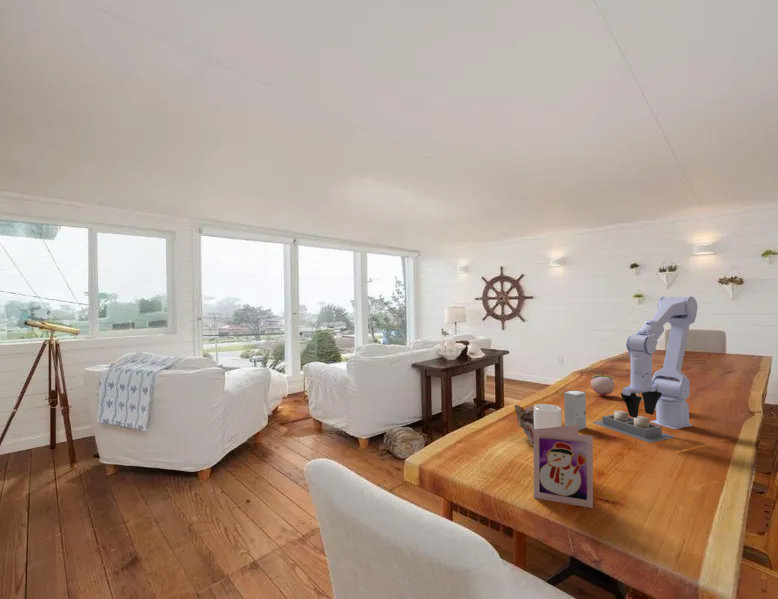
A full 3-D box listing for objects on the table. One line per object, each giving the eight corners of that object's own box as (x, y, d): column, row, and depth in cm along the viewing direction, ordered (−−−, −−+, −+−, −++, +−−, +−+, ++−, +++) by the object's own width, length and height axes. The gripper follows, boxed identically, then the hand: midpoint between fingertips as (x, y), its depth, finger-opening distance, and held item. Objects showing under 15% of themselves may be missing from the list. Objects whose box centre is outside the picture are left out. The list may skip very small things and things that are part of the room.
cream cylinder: (639, 429, 122) (639, 415, 122) (652, 433, 118) (651, 419, 118) (630, 431, 120) (630, 417, 120) (643, 435, 117) (643, 420, 117)
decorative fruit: (595, 398, 161) (595, 375, 161) (588, 393, 169) (588, 371, 169) (618, 399, 160) (618, 375, 160) (610, 394, 168) (610, 371, 168)
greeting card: (533, 499, 81) (533, 430, 81) (533, 483, 88) (533, 420, 88) (593, 510, 77) (593, 437, 77) (588, 492, 84) (588, 425, 84)
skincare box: (576, 432, 121) (576, 395, 121) (563, 428, 125) (563, 392, 125) (586, 428, 124) (586, 392, 124) (573, 425, 128) (573, 389, 128)
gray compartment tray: (615, 419, 134) (615, 410, 134) (675, 438, 115) (675, 428, 115) (590, 423, 129) (590, 414, 129) (650, 444, 111) (650, 434, 111)
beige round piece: (619, 423, 128) (619, 410, 128) (630, 426, 124) (630, 413, 124) (611, 424, 127) (611, 411, 127) (622, 428, 123) (622, 414, 123)
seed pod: (521, 408, 126) (503, 403, 115) (572, 405, 116) (557, 400, 105) (525, 450, 121) (507, 449, 110) (579, 451, 111) (564, 450, 100)
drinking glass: (559, 473, 93) (559, 412, 93) (531, 466, 97) (531, 408, 97) (563, 462, 99) (563, 406, 99) (536, 457, 103) (536, 402, 102)
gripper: (638, 377, 113) (638, 422, 113) (669, 372, 118) (669, 415, 118) (616, 372, 119) (616, 415, 119) (646, 369, 125) (646, 409, 125)
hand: (641, 415), depth 119 cm, fingers open, 7 cm apart
